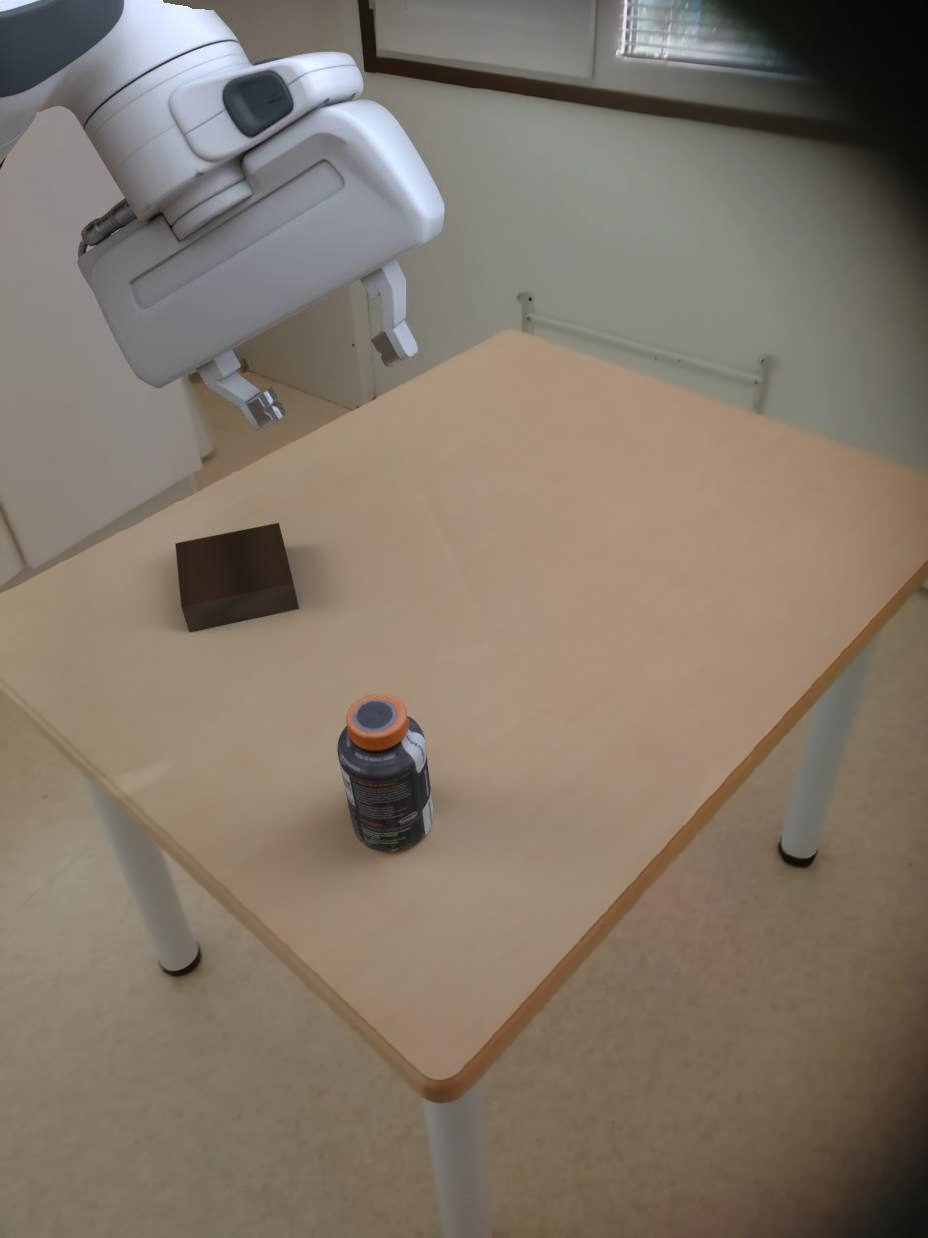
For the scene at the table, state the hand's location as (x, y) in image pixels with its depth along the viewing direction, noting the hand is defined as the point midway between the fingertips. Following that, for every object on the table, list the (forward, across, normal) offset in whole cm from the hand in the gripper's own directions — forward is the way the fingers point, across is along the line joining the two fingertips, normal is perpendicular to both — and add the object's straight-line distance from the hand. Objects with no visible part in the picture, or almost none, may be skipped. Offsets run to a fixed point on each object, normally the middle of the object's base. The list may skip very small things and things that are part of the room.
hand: (335, 393), depth 53 cm
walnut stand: (+15, -32, +21) cm, 41 cm away
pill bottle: (+29, -13, -1) cm, 32 cm away
